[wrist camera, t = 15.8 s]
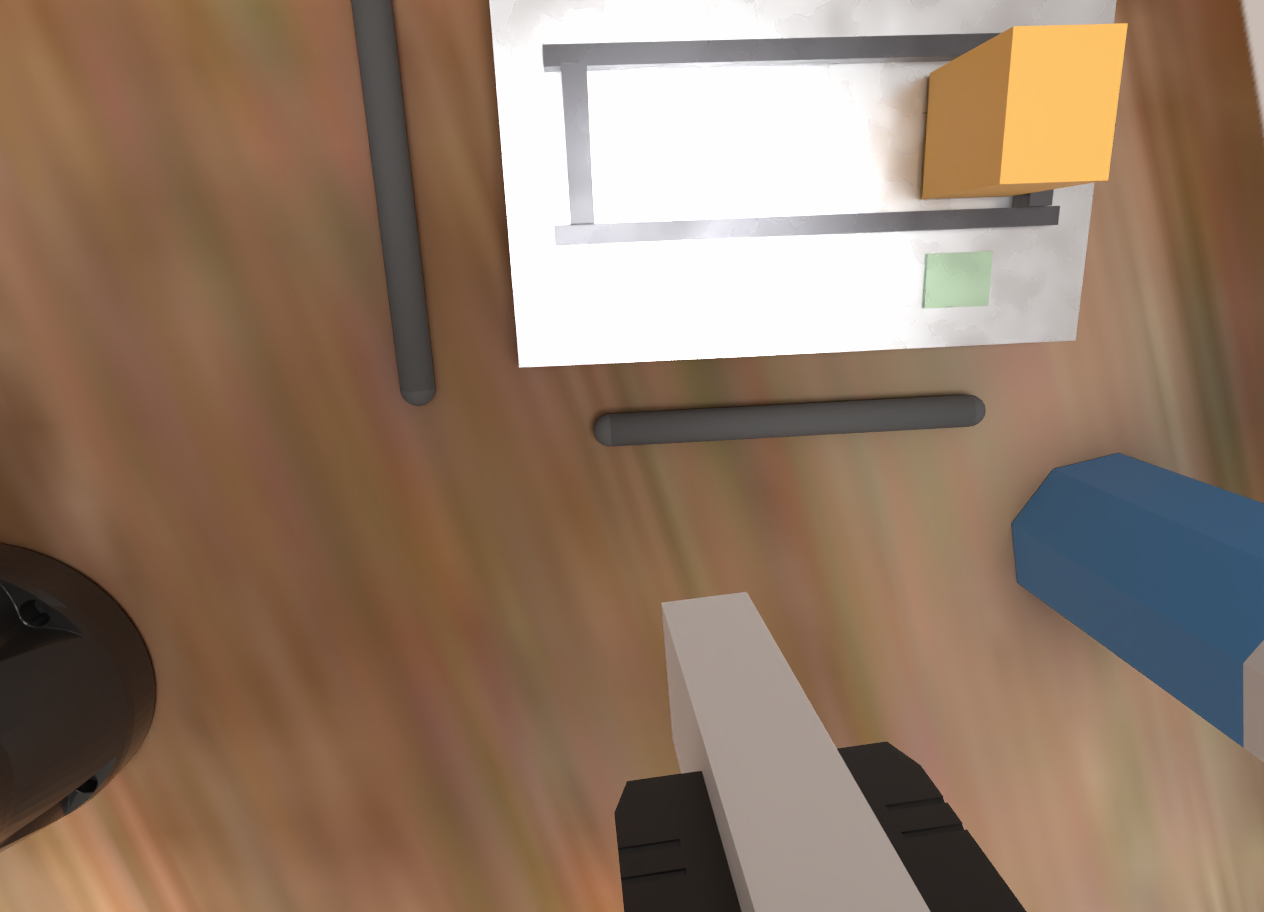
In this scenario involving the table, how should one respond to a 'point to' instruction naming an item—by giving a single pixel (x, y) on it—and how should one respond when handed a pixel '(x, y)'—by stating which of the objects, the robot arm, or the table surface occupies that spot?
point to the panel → (762, 182)
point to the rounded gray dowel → (394, 196)
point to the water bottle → (1157, 580)
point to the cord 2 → (788, 420)
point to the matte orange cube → (1024, 112)
